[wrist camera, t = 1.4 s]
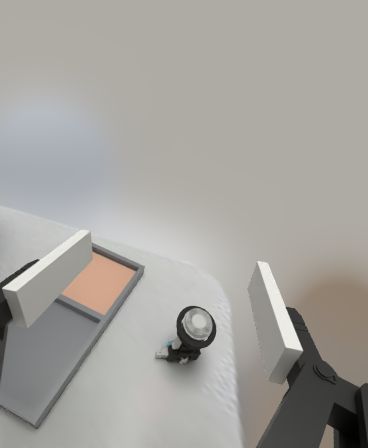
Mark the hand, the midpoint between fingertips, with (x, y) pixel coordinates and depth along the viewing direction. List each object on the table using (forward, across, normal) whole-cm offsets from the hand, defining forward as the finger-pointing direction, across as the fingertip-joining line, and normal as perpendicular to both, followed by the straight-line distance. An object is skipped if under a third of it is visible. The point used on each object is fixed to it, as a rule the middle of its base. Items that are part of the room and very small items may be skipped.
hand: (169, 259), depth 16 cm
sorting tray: (+8, -16, -19) cm, 26 cm away
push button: (+7, +2, -22) cm, 23 cm away
